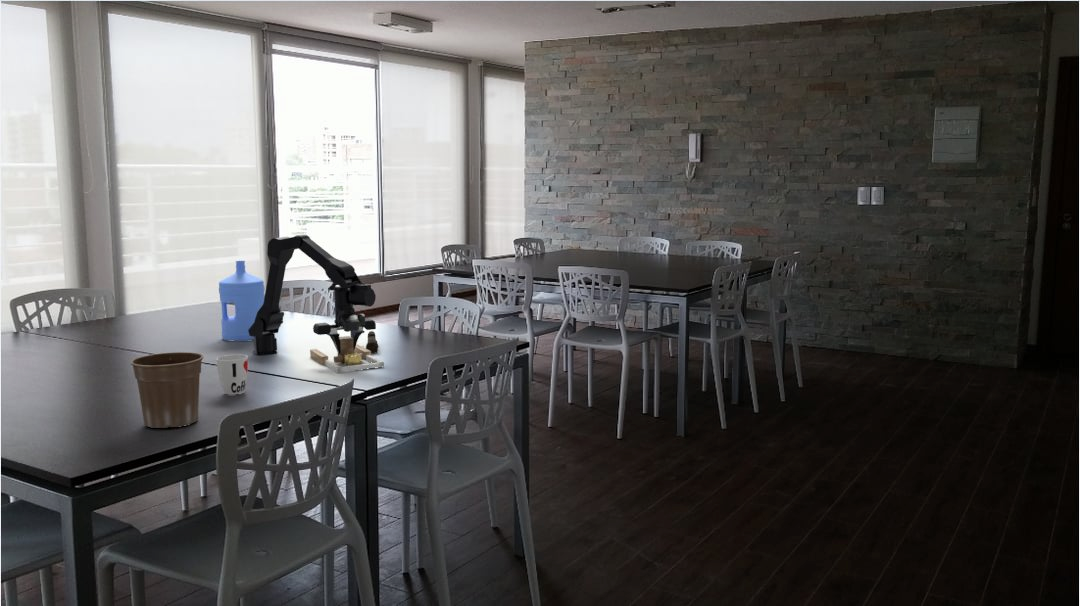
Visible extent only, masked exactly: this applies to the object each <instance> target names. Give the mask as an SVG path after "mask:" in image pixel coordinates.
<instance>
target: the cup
mask: <svg viewBox="0 0 1080 606" xmlns="http://www.w3.org/2000/svg"><path fill="white" fill-rule="evenodd" d="M248 361H249V360H248V355H247V354H240V353H239V354H225V355H221V356H218V357H216V367H217V375H218V378H219V381H220V387H221V388H222V391H223V393H225V394H229V395H228V396H236V395H235V394H239V395H242V393H243V394H244V393H245V390H246V386H247V380H248V372H249V369H248V367H249V365H248ZM225 394H224V395H225ZM233 394H234V395H233Z"/></svg>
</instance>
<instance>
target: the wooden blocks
mask: <svg viewBox="0 0 1080 606" xmlns="http://www.w3.org/2000/svg"><path fill="white" fill-rule="evenodd" d="M309 352H310V353H309V354H310V359H313V360H314V361H316V362H317V363H319V364H320V365H323V366H324V365H326V363H325V360H329V355H327V354H325V353H324V352H322V351H320V350H318V349H317V348H313V349H309ZM354 352H357V354H360V353H362V354H363V358H364V359H363V360H366V355H371V356H372V353H371V351H370V350H368V349H366V347H363V346H361V345H360V344H356V347H355V350H354Z"/></svg>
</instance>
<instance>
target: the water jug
mask: <svg viewBox="0 0 1080 606" xmlns="http://www.w3.org/2000/svg"><path fill="white" fill-rule="evenodd" d="M235 264H236V265H235V269H236V270H235V273H233V274H231V275H229V276H227V277H226V278H223V279H222V280H220V281H219V282H218V293H219V300H220V301H219V302H220V303H221V315H222V316H221V320H220V321H221V338H222V340H224V339H225V340H224V341H226V340H234V341H242V342H249V341H248V340H253V341H254V337H253V336H250V335H249V332H248V330H249V328H250V327H251V326H252V325H253V323H254V322H255V318H256V315H257V312H258V311H259V309H260V308H261V306H262V305H263V303H264V297H265V291H266V286H265V283H264V281H265V280H264V279H262V278H260V277H258V276H256V275H253V274H251V273H248V272H247V271H246V260H236V261H235ZM227 303H229V304H230V303H231V304H234V311H235V312H234V313H235V314H234V315H233V316H228V306H227V305H228V304H227ZM246 340H247V341H246Z"/></svg>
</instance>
